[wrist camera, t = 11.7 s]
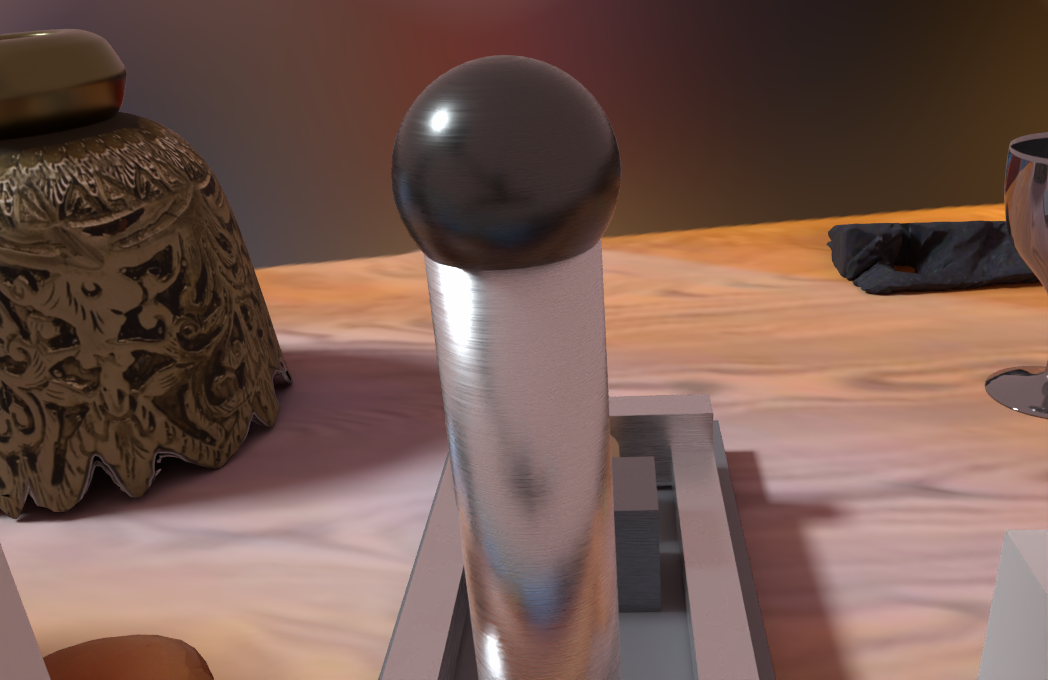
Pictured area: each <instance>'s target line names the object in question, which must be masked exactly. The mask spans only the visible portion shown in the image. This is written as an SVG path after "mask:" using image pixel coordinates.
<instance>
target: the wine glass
mask: <svg viewBox="0 0 1048 680" xmlns="http://www.w3.org/2000/svg"><path fill="white" fill-rule="evenodd" d="M1004 192H1005V193H1004V194H1005V215H1006V222H1007V229H1008V233H1009V237H1010V240H1011V243H1012V245H1013V246H1014V248H1015V250H1016V251H1017V253H1018V254H1019V256H1020V257H1021V258H1022V259H1023V260H1024V262H1025V263H1026V264H1027V265H1028V267H1029V268H1030V269H1031V270H1032V272H1033V273H1034V274H1035V275H1036V277H1037V278H1038V279H1039V280H1040V282H1041V283H1042V285H1043V287H1044V289H1045V290H1046V292H1047V295H1048V132H1045V133H1038V134H1032V135H1026V136H1023V137H1019V138H1017V139H1014V140H1013V141H1012V142H1011V143H1010V146H1009V152H1008V158H1007V165H1006V177H1005V189H1004ZM985 389H986V391H987V392H988V394H989V395H990V396H991V397H992V398H993V399H994V400H996V401H997V402H999V403H1000V404H1002V405H1004V406H1006V407H1008V408H1011V409H1013V410H1016V411H1018V412H1022V413H1025V414H1028V415H1032V416H1037V417H1041V418H1048V361H1047V365H1046V367H1044V366H1019V367H1011V368H1006V369H1002V370H999V371H997V372H995V373H993V374H991V375H990V376H989V377H988V378H987V380H986V381H985Z"/></svg>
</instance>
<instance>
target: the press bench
mask: <svg viewBox="0 0 1048 680" xmlns="http://www.w3.org/2000/svg"><path fill="white" fill-rule="evenodd" d="M713 452H714V457H715V462H716V467H717V472H718V477H719V482H720V487H721V492H722V497H723V502H724V507H725V512H726V517H727V522H728V527H729V532H730V537H731V542H732V547H733V552H734V557H735V562H736V567H737V572H738V577H739V582H740V587H741V592H742V597H743V602H744V606H745V611H746V616H747V621H748V626H749V631H750V636H751V641H752V646H753V651H754V656H755V661H756V666H757V671H758V676H759V680H776V678H775V674H774V669H773V665H772V660H771V656H770V651H769V647H768V642H767V638H766V633H765V629H764V624H763V620H762V615H761V611H760V607H759V602H758V598H757V593H756V589H755V584H754V580H753V575H752V571H751V566H750V562H749V557H748V553H747V548H746V544H745V539H744V535H743V530H742V526H741V521H740V517H739V512H738V508H737V503H736V499H735V494H734V490H733V485H732V481H731V477H730V472H729V468H728V463H727V459H726V454H725V450H724V445H723V441H722V436H721V432H720V427H719V423H718V420H716V421H713ZM448 459H449V452H448V455H447V458H446V461H445V465H444V468H443V471H442V474H441V478H440V481H439V484H438V487H437V491H436V494H435V497H434V500H433V504H432V507H431V510H430V513H429V517H428V520H427V523H426V526H425V530H424V533H423V536H422V539H421V543H420V546H419V549H418V552H417V556H416V559H415V562H414V565H413V569H412V572H411V575H410V578H409V582H408V585H407V588H406V591H405V595H404V598H403V601H402V604H401V608H400V611H399V614H398V617H397V621H396V624H395V627H394V630H393V634H392V637H391V640H390V643H389V647H388V650H387V653H386V656H385V660H384V663H383V666H382V669H381V673H380V676H379V679H378V680H382V676H383V673H384V670H385V666H386V663H387V660H388V656H389V653H390V650H391V647H392V643H393V640H394V637H395V633H396V630H397V627H398V623H399V620H400V617H401V614H402V610H403V607H404V604H405V600H406V597H407V594H408V591H409V587H410V584H411V581H412V577H413V574H414V571H415V567H416V564H417V561H418V558H419V554H420V551H421V548H422V544H423V541H424V538H425V535H426V531H427V528H428V525H429V521H430V518H431V515H432V511H433V508H434V505H435V502H436V498H437V495H438V492H439V488H440V485H441V482H442V479H443V475H444V472H445V469H446V465H447V462H448ZM657 497H658V509H659V547H660V589H661V612H644V613H619V629H620V651H621V672H622V680H694V675H693V666H692V657H691V649H690V640H689V631H688V622H687V613H686V605H685V596H684V587H683V578H682V570H681V561H680V552H679V543H678V534H677V526H676V517H675V508H674V499H673V491H672V485H661V486H657ZM453 680H479V678H478V671H477V663H476V655H475V647H474V640H473V632H472V624H471V616H470V608H469V605H468V609H467V614H466V619H465V624H464V629H463V633H462V638H461V643H460V648H459V653H458V657H457V662H456V667H455V672H454V677H453Z"/></svg>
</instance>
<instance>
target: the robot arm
mask: <svg viewBox="0 0 1048 680" xmlns="http://www.w3.org/2000/svg"><path fill="white" fill-rule="evenodd" d="M0 680H51V679H50V676H49V674H48V671H47V668H46V666H45V663H44V660H43V657H42V655H41V652H40V649H39V647H38V644H37V641H36V639H35V636H34V633H33V630H32V628H31V625H30V622H29V620H28V617H27V614H26V612H25V609H24V606H23V603H22V601H21V598H20V595H19V593H18V590H17V587H16V585H15V582H14V579H13V576H12V574H11V571H10V568H9V566H8V563H7V560H6V558H5V555H4V552H3V550H2V547H1V544H0ZM977 680H1048V530H1005V536H1004V541H1003V546H1002V552H1001V557H1000V562H999V568H998V573H997V578H996V583H995V589H994V594H993V599H992V605H991V610H990V615H989V621H988V626H987V631H986V637H985V642H984V647H983V653H982V658H981V663H980V668H979V674H978V679H977Z"/></svg>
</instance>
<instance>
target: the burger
mask: <svg viewBox="0 0 1048 680" xmlns="http://www.w3.org/2000/svg"><path fill="white" fill-rule="evenodd" d="M43 660H44V663H45V666H46V668H47V671H48V674H49V676H50V679H51V680H214V678H213V676H212V673H211V671H210V669H209V667H208V665H207V663H206V661H205V660H204V659H203V658H202V656H201V655H200V654H199V653H198V651H197V650H196V649H195V648H193V647H192V646H190V645H188V644H187V643H185V642H183V641H182V640H178V639H173V638H168V637H163V636H159V635H130V636H120V637H110V638H102V639H97V640H92V641H88V642H84V643H81V644H78V645H75V646H72V647H68V648H65V649H62V650H59V651H57V652H54V653H52V654H50V655H48V656H46V657H44V658H43Z"/></svg>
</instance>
